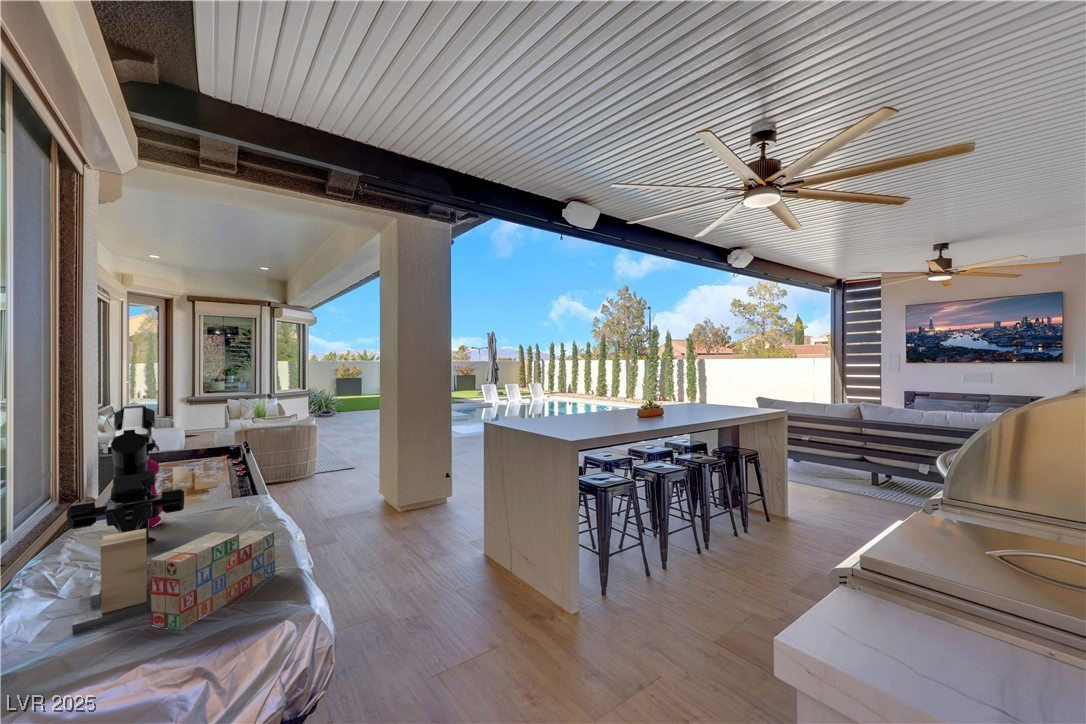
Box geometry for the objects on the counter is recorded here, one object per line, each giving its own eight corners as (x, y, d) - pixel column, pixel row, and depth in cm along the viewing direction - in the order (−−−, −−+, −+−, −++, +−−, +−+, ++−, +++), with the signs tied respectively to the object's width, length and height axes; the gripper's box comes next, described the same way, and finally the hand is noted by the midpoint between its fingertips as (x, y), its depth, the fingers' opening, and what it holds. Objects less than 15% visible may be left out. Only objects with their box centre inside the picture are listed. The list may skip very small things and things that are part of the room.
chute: (87, 584, 94) (87, 568, 94) (169, 566, 103) (168, 550, 103) (72, 633, 78) (72, 613, 78) (171, 606, 86) (170, 588, 86)
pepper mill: (143, 521, 131) (142, 452, 131) (169, 520, 132) (168, 451, 131) (121, 531, 124) (120, 457, 124) (149, 530, 124) (147, 457, 124)
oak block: (104, 600, 85) (103, 536, 85) (146, 589, 89) (146, 528, 89) (101, 613, 81) (100, 546, 81) (146, 601, 85) (145, 537, 85)
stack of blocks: (250, 571, 100) (250, 516, 100) (275, 574, 99) (275, 517, 99) (150, 628, 79) (149, 558, 79) (180, 632, 78) (179, 560, 78)
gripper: (67, 465, 93) (59, 535, 85) (183, 453, 105) (186, 513, 97) (73, 495, 100) (66, 563, 91) (182, 480, 112) (184, 539, 103)
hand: (128, 543), depth 96 cm, fingers closed
